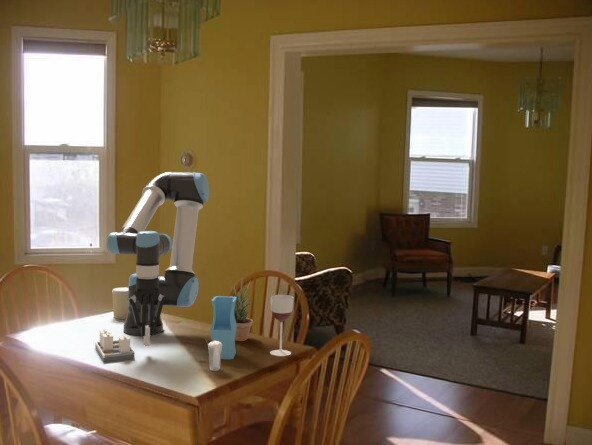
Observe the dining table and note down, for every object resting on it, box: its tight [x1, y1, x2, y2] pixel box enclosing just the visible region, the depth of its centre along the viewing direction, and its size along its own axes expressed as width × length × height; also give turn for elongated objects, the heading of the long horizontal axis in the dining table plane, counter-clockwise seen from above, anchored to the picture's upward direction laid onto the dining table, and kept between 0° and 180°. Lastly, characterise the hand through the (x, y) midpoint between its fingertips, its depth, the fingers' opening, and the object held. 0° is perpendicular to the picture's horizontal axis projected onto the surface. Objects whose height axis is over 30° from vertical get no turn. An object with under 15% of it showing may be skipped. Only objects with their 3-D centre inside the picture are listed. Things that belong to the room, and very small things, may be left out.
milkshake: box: [205, 339, 222, 372], centre depth 199 cm, size 4×5×10 cm
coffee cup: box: [111, 286, 129, 320], centre depth 265 cm, size 9×9×12 cm
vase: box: [209, 295, 237, 360], centre depth 214 cm, size 8×8×20 cm
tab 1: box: [99, 328, 111, 346], centre depth 216 cm, size 3×4×5 cm
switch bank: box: [94, 339, 135, 363], centre depth 213 cm, size 10×17×2 cm, turn 26°
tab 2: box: [102, 333, 114, 350], centre depth 211 cm, size 3×4×5 cm
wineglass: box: [269, 294, 295, 357], centre depth 219 cm, size 8×9×20 cm
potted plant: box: [230, 276, 254, 342], centre depth 236 cm, size 10×10×25 cm
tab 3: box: [118, 334, 131, 353], centre depth 209 cm, size 3×4×5 cm
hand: (146, 345), depth 212 cm, fingers closed
